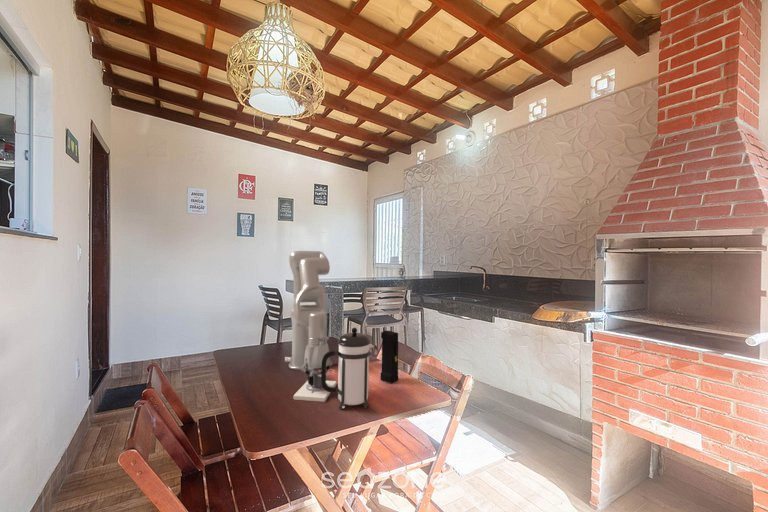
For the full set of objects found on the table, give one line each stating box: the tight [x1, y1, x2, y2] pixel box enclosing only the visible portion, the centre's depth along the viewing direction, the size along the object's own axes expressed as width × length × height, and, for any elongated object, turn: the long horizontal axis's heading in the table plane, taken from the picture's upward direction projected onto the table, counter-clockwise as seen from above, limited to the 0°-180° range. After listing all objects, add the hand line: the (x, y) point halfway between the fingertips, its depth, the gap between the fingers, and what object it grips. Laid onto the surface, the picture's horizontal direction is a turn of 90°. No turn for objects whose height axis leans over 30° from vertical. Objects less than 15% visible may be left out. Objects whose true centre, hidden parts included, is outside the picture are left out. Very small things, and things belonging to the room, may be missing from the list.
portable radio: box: [380, 325, 399, 384], centre depth 159 cm, size 8×6×25 cm
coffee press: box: [320, 327, 374, 411], centre depth 134 cm, size 17×16×30 cm
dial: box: [306, 369, 327, 391], centre depth 146 cm, size 9×9×6 cm
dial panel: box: [292, 380, 337, 403], centre depth 145 cm, size 13×18×2 cm
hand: (316, 382), depth 146 cm, fingers open, 4 cm apart
